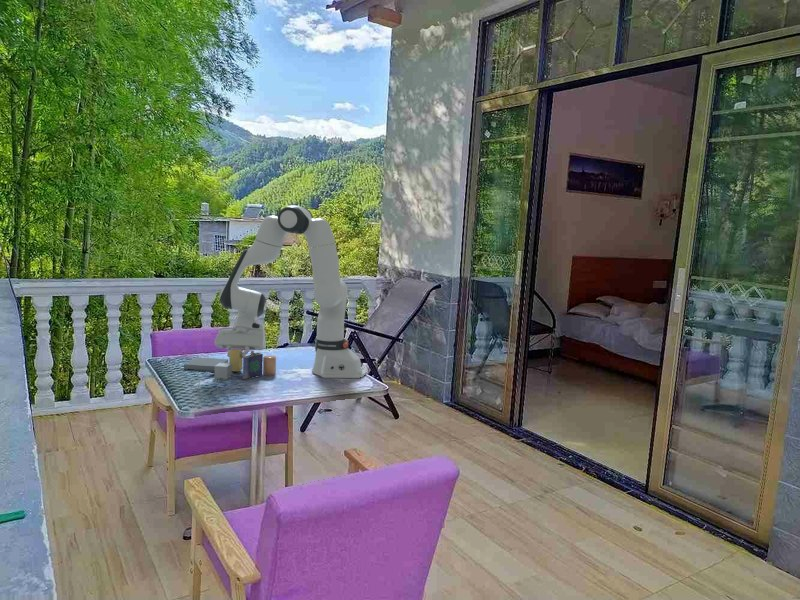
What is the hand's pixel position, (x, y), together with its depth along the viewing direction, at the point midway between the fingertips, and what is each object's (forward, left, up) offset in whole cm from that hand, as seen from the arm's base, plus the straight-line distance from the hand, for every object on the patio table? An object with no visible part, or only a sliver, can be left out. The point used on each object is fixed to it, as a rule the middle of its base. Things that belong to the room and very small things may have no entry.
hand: (235, 356), depth 224 cm
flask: (-9, +6, -6) cm, 12 cm away
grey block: (+2, +8, -6) cm, 10 cm away
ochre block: (0, 0, -5) cm, 5 cm away
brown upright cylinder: (-14, 0, -6) cm, 15 cm away
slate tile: (+14, -5, -6) cm, 16 cm away
